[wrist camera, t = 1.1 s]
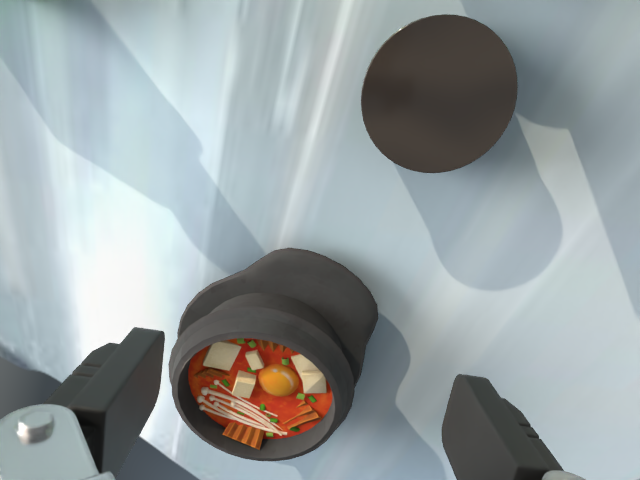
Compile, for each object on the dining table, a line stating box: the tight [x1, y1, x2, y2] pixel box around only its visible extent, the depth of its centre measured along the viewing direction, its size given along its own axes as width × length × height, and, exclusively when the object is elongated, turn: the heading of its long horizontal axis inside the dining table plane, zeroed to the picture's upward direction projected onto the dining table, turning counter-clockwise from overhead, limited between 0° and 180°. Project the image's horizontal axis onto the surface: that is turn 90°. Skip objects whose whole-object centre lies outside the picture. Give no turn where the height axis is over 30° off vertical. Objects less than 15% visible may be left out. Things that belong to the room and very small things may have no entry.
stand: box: [361, 15, 518, 173], centre depth 34 cm, size 11×11×4 cm
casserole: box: [169, 248, 378, 461], centre depth 44 cm, size 25×19×8 cm
